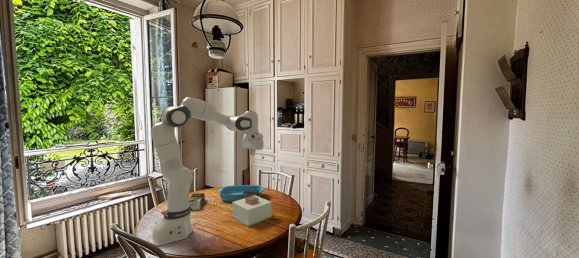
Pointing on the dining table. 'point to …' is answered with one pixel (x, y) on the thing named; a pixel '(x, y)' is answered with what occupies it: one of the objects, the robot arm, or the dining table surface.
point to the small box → (250, 193)
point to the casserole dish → (237, 191)
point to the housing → (252, 211)
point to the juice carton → (196, 201)
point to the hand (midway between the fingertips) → (252, 155)
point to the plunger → (251, 200)
